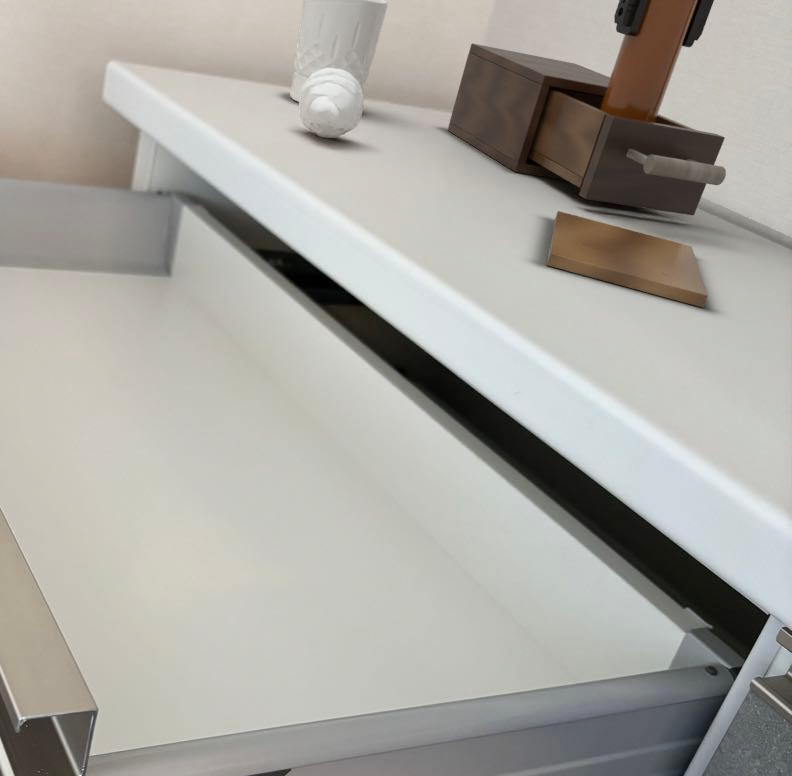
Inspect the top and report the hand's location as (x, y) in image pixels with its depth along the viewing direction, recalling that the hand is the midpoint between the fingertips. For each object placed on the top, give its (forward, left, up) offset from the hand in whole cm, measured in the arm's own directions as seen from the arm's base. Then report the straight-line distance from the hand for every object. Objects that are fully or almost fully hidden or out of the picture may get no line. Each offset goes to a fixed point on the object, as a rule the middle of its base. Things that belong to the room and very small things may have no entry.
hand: (653, 38), depth 88 cm
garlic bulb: (+23, +7, -13) cm, 28 cm away
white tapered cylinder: (+27, -11, -13) cm, 32 cm away
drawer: (-1, +1, -12) cm, 12 cm away
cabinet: (+6, -11, -13) cm, 18 cm away
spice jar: (0, 0, -6) cm, 6 cm away
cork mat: (-2, +22, -13) cm, 26 cm away
